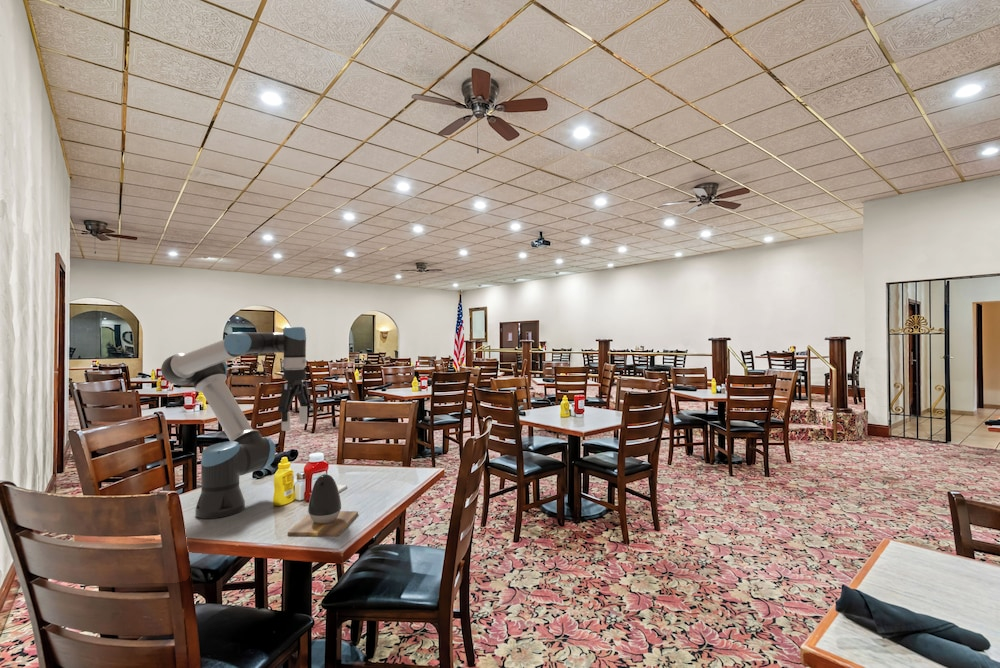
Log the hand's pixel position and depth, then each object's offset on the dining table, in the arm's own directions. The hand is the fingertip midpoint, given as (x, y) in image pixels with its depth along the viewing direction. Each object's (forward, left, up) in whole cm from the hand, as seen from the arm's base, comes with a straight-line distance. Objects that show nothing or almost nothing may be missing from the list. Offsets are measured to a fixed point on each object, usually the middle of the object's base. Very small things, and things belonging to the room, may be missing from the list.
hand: (294, 427), depth 173 cm
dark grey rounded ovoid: (+18, -17, -28) cm, 37 cm away
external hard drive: (+7, +15, -29) cm, 34 cm away
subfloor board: (+18, -17, -29) cm, 38 cm away
